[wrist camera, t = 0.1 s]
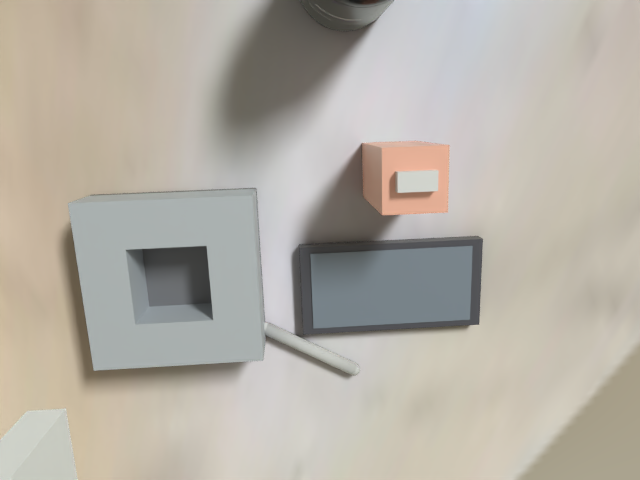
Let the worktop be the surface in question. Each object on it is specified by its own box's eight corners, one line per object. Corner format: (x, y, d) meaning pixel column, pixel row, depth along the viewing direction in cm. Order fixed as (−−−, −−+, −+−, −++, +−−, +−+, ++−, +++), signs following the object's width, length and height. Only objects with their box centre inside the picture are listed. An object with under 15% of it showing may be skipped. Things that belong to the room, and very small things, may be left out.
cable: (257, 328, 39) (256, 333, 38) (262, 317, 39) (262, 322, 38) (355, 373, 41) (356, 379, 40) (361, 363, 40) (363, 369, 39)
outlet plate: (91, 194, 36) (67, 203, 32) (256, 187, 37) (252, 195, 33) (113, 346, 39) (93, 370, 35) (265, 337, 39) (263, 360, 36)
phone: (299, 244, 38) (299, 248, 37) (477, 236, 39) (483, 239, 37) (303, 329, 39) (303, 334, 38) (474, 319, 40) (479, 324, 39)
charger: (362, 142, 36) (383, 148, 28) (415, 140, 37) (452, 145, 28) (362, 196, 37) (383, 217, 29) (415, 194, 38) (450, 214, 29)
